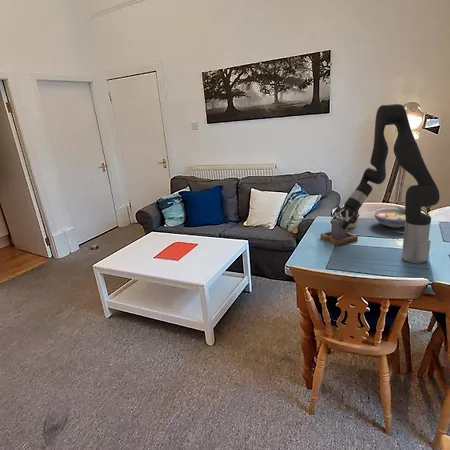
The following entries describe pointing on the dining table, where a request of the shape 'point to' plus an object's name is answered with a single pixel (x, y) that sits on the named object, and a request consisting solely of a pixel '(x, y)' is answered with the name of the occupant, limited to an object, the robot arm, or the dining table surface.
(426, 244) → the robot arm
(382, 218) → the ramen bowl
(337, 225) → the grey rectangular block
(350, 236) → the tray
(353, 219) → the coffee cup
